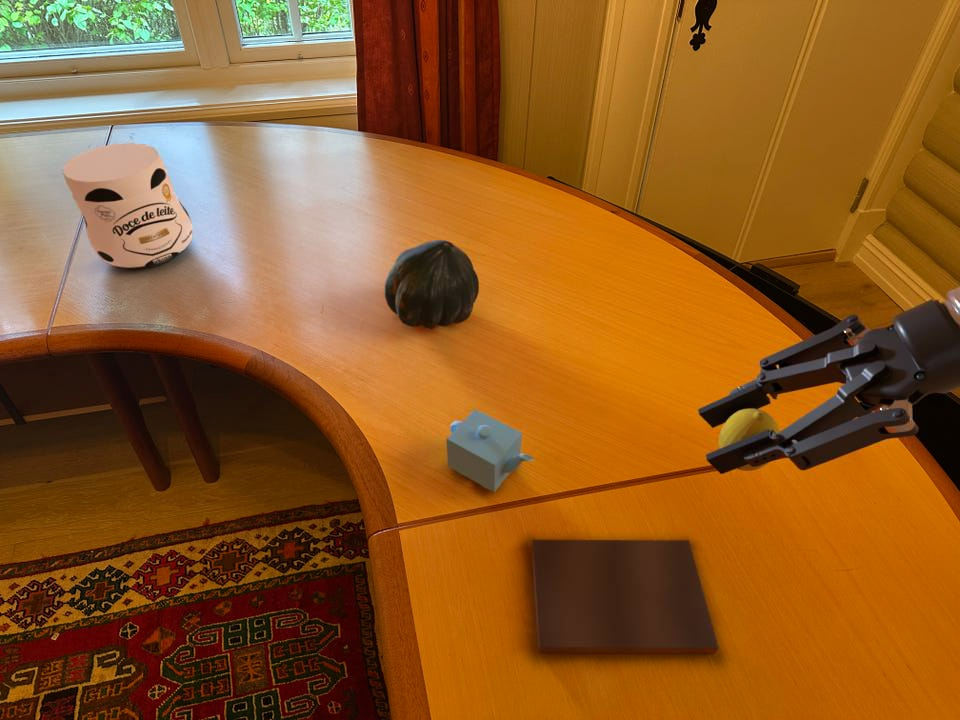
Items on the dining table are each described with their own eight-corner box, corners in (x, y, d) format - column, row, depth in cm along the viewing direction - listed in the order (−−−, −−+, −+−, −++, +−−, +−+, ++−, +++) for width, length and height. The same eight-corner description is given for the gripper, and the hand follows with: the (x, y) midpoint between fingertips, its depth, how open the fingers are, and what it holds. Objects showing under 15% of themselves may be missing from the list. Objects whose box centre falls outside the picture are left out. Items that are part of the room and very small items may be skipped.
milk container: (167, 282, 108) (127, 189, 96) (80, 272, 111) (30, 180, 98) (214, 231, 121) (184, 144, 108) (136, 223, 123) (97, 136, 111)
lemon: (729, 436, 67) (751, 385, 62) (774, 466, 64) (802, 416, 59) (699, 461, 65) (720, 411, 59) (745, 495, 62) (771, 445, 56)
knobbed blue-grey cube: (542, 476, 78) (546, 438, 72) (517, 510, 74) (519, 473, 69) (465, 435, 83) (464, 397, 77) (438, 465, 79) (436, 427, 74)
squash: (364, 272, 101) (387, 240, 88) (441, 248, 108) (473, 215, 94) (397, 350, 101) (424, 330, 87) (472, 321, 107) (509, 299, 94)
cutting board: (686, 546, 70) (689, 540, 69) (715, 653, 62) (719, 648, 61) (531, 546, 70) (532, 539, 69) (538, 653, 62) (539, 647, 61)
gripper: (1039, 445, 45) (743, 536, 58) (937, 296, 58) (715, 397, 71) (1005, 388, 42) (700, 497, 54) (905, 244, 55) (679, 359, 68)
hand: (709, 440), depth 63 cm, fingers closed on lemon, 5 cm apart
